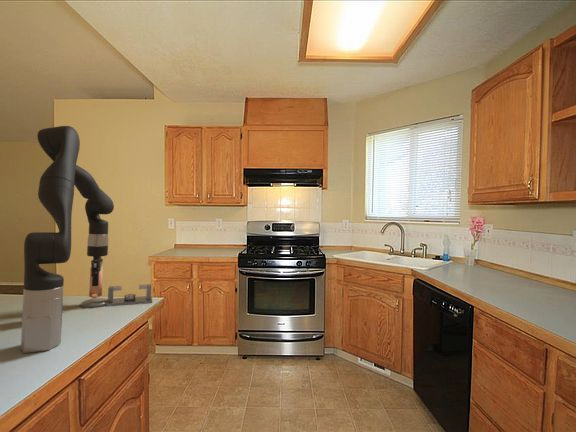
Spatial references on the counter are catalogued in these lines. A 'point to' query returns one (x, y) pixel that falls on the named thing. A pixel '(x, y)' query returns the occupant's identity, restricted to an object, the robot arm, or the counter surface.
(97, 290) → the knob
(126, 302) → the keeper post
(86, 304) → the coaster
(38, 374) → the counter surface
